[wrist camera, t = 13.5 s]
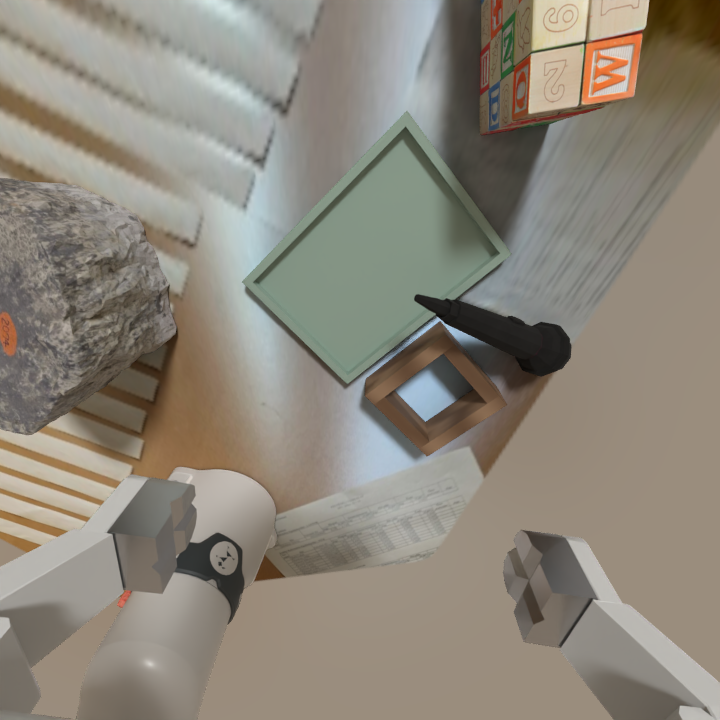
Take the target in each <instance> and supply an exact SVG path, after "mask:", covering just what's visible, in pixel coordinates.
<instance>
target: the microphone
mask: <svg viewBox="0 0 720 720" xmlns="http://www.w3.org/2000/svg"><path fill="white" fill-rule="evenodd" d="M414 301H415V302H417V303H418V304H420V305H422V306H423V307H425V308H426V309H428V310H429V311H431V312H433V313H435V314H436V316H438V317H439V318H440V319H441V320H443V321H444V323H445V324H447V325H449V326H451V327H454V328H456V329H458V330H460V331H462V332H464V333H466V334H468V335H471V336H473V337H475V338H477V339H479V340H481V341H483V342H485V343H488V344H490V345H492V346H494V347H496V348H498V349H500V350H502V351H505V352H507V353H509V354H511V355H513V356H515V358H516V360H517V361H518V363H519V365H520V367H521V368H522V370H524V371H526V372H529V373H532V374H535V375H538V376H544V375H547V374H550V373H552V372H555V371H557V370H560V369H562V368H563V367H564V366H565V364H566V363H567V362H568V361H569V359H570V357H571V344H570V338H569V337H568V336H567V334H566V333H565V332H564V330H563V329H562V328H561V326H558V325H555V324H550V323H544V322H540V323H538V324H536V325H534V326H529V325H527V324H525V323H524V321H522V320H520V319H518V318H516V317H513V316H508V317H504V316H501V315H498V314H495V313H493V312H490V311H487V310H484V309H481V308H478V307H476V306H473V305H470V304H467V303H464V302H461V301H459V300H450V299H448V298H446V299H444V300H441V299H438V298H433V297H429V296H424V295H420V294H417V295H415V297H414Z"/></svg>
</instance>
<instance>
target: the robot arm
mask: <svg viewBox="0 0 720 720" xmlns="http://www.w3.org/2000/svg"><path fill="white" fill-rule="evenodd" d="M275 519H276V507H275V504H274V501H273V499H272V497H271V496H270V494H269V493H268V492H267V491H266V490H265V489H264V488H263V487H262V486H261V485H260V484H259V483H257V482H256V481H254V480H253V479H251V478H249V477H247V476H245V475H243V474H240V473H237V472H233V471H229V470H220V469H213V470H195V469H191V468H186V467H177V468H175V469H174V470H173V472H172V473H171V475H170V476H169V478H168V479H167V480H163V479H157V478H150V477H143V476H137V475H130V476H128V477H126V478H125V479H124V480H123V481H122V482H121V483H120V484H119V485H118V487H117V488H116V489H115V490H114V491H113V492H112V494H111V495H110V496H109V497H108V498H107V499H106V500H105V502H104V503H103V504H102V505H101V506H100V507H99V509H98V510H97V511H96V512H95V513H94V514H93V516H92V517H91V518H90V519H89V520H88V521H87V523H86V524H85V525H84V526H83V527H82V528H81V529H72V530H70V531H69V532H67V533H65V534H63V535H61V536H59V537H57V538H55V539H53V540H51V541H49V542H47V543H45V544H44V545H42V546H40V547H38V548H36V549H34V550H32V551H30V552H28V553H26V554H24V555H23V556H20V557H19V558H17V559H15V560H13V561H11V562H9V563H7V564H5V565H3V566H2V567H0V720H197V719H198V715H199V711H200V707H201V703H202V700H203V696H204V693H205V690H206V687H207V684H208V681H209V678H210V675H211V672H212V669H213V666H214V662H215V660H216V656H217V653H218V651H219V648H220V645H221V642H222V639H223V636H224V633H225V630H226V627H227V625H228V624H229V623H230V622H231V621H232V619H233V617H234V615H235V612H236V610H237V609H238V607H239V604H240V601H241V596H242V593H243V590H244V589H245V588H246V587H248V586H250V585H252V583H253V582H254V580H255V577H256V575H257V573H258V570H259V568H260V565H261V563H262V560H263V557H264V555H265V552H266V550H267V549H270V548H272V547H274V546H275V544H276V542H277V539H278V537H277V533H276V530H275V528H274V524H275ZM514 543H515V545H516V548H514V549H512V550H511V551H509V552H508V553H507V556H506V558H505V560H504V571H503V574H504V581H505V585H506V588H507V592H508V594H509V595H510V596H511V597H512V598H513V599H514V600H515V601H516V602H517V605H516V608H515V610H514V614H515V617H516V620H517V623H518V626H519V629H520V632H521V635H522V638H523V641H524V642H527V643H533V644H539V645H545V646H551V647H558V648H561V649H560V651H561V652H562V654H563V655H564V656H565V658H566V659H567V660H568V661H569V663H570V664H571V665H572V667H573V668H574V669H575V670H576V672H577V673H578V674H579V676H580V677H581V678H582V679H583V681H584V682H585V683H586V684H587V686H588V687H589V688H590V689H591V691H592V692H593V694H594V695H595V696H596V697H597V699H598V700H599V701H600V703H601V704H602V705H603V706H604V708H605V709H606V710H607V711H608V713H609V714H610V715H611V717H612V718H613V719H614V720H720V683H719V682H718V681H717V680H716V679H715V678H713V677H712V676H711V675H710V674H709V673H708V672H707V671H705V670H704V669H703V668H702V667H701V666H699V664H697V663H696V662H695V661H694V660H692V658H690V657H689V656H688V655H687V654H686V653H685V652H683V651H682V650H681V649H680V648H679V647H678V646H676V645H675V644H674V643H673V642H672V641H671V640H670V639H668V638H667V637H666V636H665V635H664V634H663V633H661V632H660V631H659V630H658V629H657V628H656V627H654V626H653V625H652V624H651V623H650V622H649V621H647V620H646V619H645V618H644V617H643V616H642V615H641V614H639V613H638V612H637V611H636V610H635V609H634V608H632V607H631V606H630V605H629V604H623V603H622V602H621V600H620V598H619V597H618V595H617V593H616V592H615V590H614V588H613V587H612V585H611V583H610V581H609V580H608V578H607V576H606V575H605V573H604V571H603V569H602V568H601V566H600V565H599V563H598V561H597V559H596V558H595V556H594V554H593V553H592V551H591V549H590V548H589V546H588V544H587V543H586V542H585V541H584V540H583V539H582V538H578V537H570V536H563V535H561V536H560V535H556V534H549V533H541V532H532V531H525V530H520V531H519V532H518V533H517V534H516V536H515V538H514ZM124 590H127V591H126V592H125V593H124ZM123 593H124V594H123ZM121 594H123V595H122V597H121V598H120V600H119V602H118V606H119V607H121V608H122V609H121V611H120V612H119V614H118V616H117V617H116V619H115V621H114V622H113V624H112V626H111V627H110V629H109V631H108V632H107V634H106V636H105V637H104V639H103V641H102V642H101V644H100V646H99V647H98V649H97V651H96V652H95V654H94V656H93V657H92V659H91V661H90V663H89V665H88V667H87V670H86V672H85V675H84V678H83V682H82V686H81V691H80V701H79V707H78V711H77V716H76V719H70V718H61V717H53V716H46V715H38V714H30V713H31V712H32V710H33V708H34V707H35V705H36V704H37V702H38V701H39V699H40V697H41V695H40V688H39V686H38V683H37V681H36V679H35V676H34V674H33V672H32V670H31V668H32V667H33V666H34V665H35V664H37V663H38V662H39V661H40V660H42V659H43V658H44V657H45V656H46V655H48V654H49V653H50V652H51V651H52V650H54V649H55V648H56V647H58V646H59V645H60V644H61V643H62V642H64V641H65V640H66V639H67V638H68V637H70V636H71V635H72V634H73V633H75V632H76V631H77V630H78V629H80V628H81V627H82V626H83V625H84V624H86V623H87V622H88V621H89V620H91V619H92V618H93V617H94V616H95V615H97V614H98V613H99V612H101V611H102V610H103V609H104V608H105V607H107V606H108V605H109V604H110V603H112V602H113V601H114V600H115V599H116V598H118V597H119V596H120V595H121Z"/></svg>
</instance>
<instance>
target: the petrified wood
mask: <svg viewBox="0 0 720 720" xmlns="http://www.w3.org/2000/svg"><path fill="white" fill-rule="evenodd" d="M168 286H169V283H168V282H167V281H166V278H165V276H164V275H163V273H162V271H161V270H160V266H159V262H158V259H157V255H156V252H155V250H154V248H153V246H152V245H151V244H150V243H149V242H148V241H147V239H146V236H145V231H144V227H143V225H142V224H141V222H140V220H139V218H138V217H137V215H136V214H134V213H132V212H130V211H129V210H127V209H126V208H124V207H121V206H119V205H117V204H115V203H112V202H109V201H108V200H107V199H105V198H104V197H102V196H99V195H96V194H94V193H92V192H90V191H88V190H86V189H83V188H81V187H79V186H77V185H66V184H58V183H36V182H29V181H19V180H15V179H8V178H0V429H2V430H5V431H11V432H13V433H20V434H24V435H32V434H34V433H36V432H37V431H39V430H40V429H42V428H43V427H44V426H46V425H47V424H49V423H50V422H52V421H54V420H56V419H57V418H59V417H60V416H63V415H65V414H66V413H68V412H69V411H70V410H71V409H72V408H73V407H75V406H77V405H78V404H79V403H81V402H82V401H84V400H85V399H87V398H88V397H89V396H91V395H92V394H93V393H95V392H97V391H99V390H100V389H102V388H104V387H105V386H106V385H107V384H108V383H109V382H110V381H112V380H113V379H114V378H115V377H116V376H118V375H119V374H120V372H121V371H122V370H124V369H126V368H128V367H130V366H131V364H132V363H133V362H134V361H136V360H137V359H138V357H139V356H140V355H142V354H146V353H152V352H154V351H155V350H156V349H158V348H159V347H161V346H162V345H163V344H164V343H165V342H167V341H168V340H170V339H171V338H172V337H173V336H174V335H175V334H176V328H177V326H176V324H175V322H174V319H173V317H172V314H171V311H170V306H169V299H168V291H167V288H168Z"/></svg>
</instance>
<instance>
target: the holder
mask: <svg viewBox="0 0 720 720" xmlns="http://www.w3.org/2000/svg"><path fill="white" fill-rule="evenodd" d="M442 354H444V355H445V356H446V357H447V358H448V360H449V361H450V362H451V363H452V364H453V365H454V366H455V367H456V369H457V370H458V371H459V372H460V373H461V374H462V375H463V376H464V378H465V379H466V380H467V381H468V382H469V383H470V384H471V386H472V387H473V388H474V389H473V390H472V391H470V392H469V393H467V394H466V395H464V396H463V397H462V398H460V399H459V400H457V401H456V402H454V403H453V404H451V405H450V406H448V407H447V408H445V409H444V410H443V411H441V412H440V413H438V414H437V415H435V416H434V417H432V418H431V419H429V420H428V421H426V422H425V421H424V420H423V419H422V418H421V417H420V416H419V415H418V414H417V413H416V412H415V411H414V410H413V409H412V408H411V407H410V406H409V405H408V404H407V403H406V402H405V401H404V400H403V399H402V398H401V397H400V396H399V395H398V394H397V393H396V392H395V391H394V390H395V389H396V388H397V387H399V386H400V385H401V384H403V383H404V382H405V381H407V380H408V379H409V378H411V377H412V376H413V375H415V374H416V373H417V372H419V371H420V370H421V369H423V368H424V367H425V366H427V365H428V364H430V363H431V362H432V361H434V360H435V359H436V358H438V357H439V356H440V355H442ZM365 397H366V398H368V399H369V400H370V401H371V402H372V403H373V404H374V405H375V406H376V407H377V408H378V409H379V410H380V411H381V412H382V413H383V414H384V415H385V416H386V417H387V418H388V419H389V420H390V421H391V422H392V423H393V424H394V425H395V426H396V427H397V428H398V429H399V430H400V431H401V432H402V433H403V434H404V435H405V436H406V437H407V438H409V439H410V440H411V441H412V442H413V443H414V444H415V445H416V446H417V447H418V448H419V449H420V450H421V451H422V452H423V453H424V454H425V455H426V456H429V455H430V454H432V453H433V452H435V451H436V450H438V449H440V448H441V447H443V446H444V445H446V444H447V443H449V442H450V441H452V440H453V439H455V438H457V437H458V436H460V435H461V434H463V433H464V432H466V431H467V430H469V429H471V428H472V427H474V426H475V425H477V424H478V423H480V422H481V421H483V420H484V419H486V418H488V417H489V416H491V415H492V414H494V413H495V412H497V411H498V410H500V409H502V408H503V407H505V406H506V405H507V404H506V402H505V400H504V399H503V397H502V395H501V393H500V392H499V390H498V388H497V387H496V385H495V384H494V383H493V382H492V381H491V380H490V378H489V377H488V376H487V375H486V374H485V373H484V371H483V370H482V369H481V368H480V367H479V366H478V365H477V363H476V362H475V361H474V360H473V359H472V358H471V356H470V355H469V354H468V353H467V352H466V351H465V349H464V348H463V347H462V346H461V345H460V344H459V342H458V341H457V340H456V339H455V338H454V337H453V335H452V334H451V333H450V332H449V331H448V330H447V328H446V327H445V326H444V325H443V324H442V323H441V322H438V323H437V324H436V325H434V326H433V327H432V328H431V329H429V330H428V331H427V332H425V333H424V334H423V335H422V336H420V337H419V338H418V339H416V340H415V341H414V342H413V343H411V344H410V345H409V346H407V347H406V348H405V349H404V350H402V351H401V352H400V353H398V354H397V355H396V356H395V357H393V358H392V359H391V360H389V361H388V362H387V363H386V364H384V365H383V366H382V367H380V368H379V369H378V370H377V371H375V372H374V373H373V374H372V375H370V376H369V377H368V378H366V387H365Z"/></svg>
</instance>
